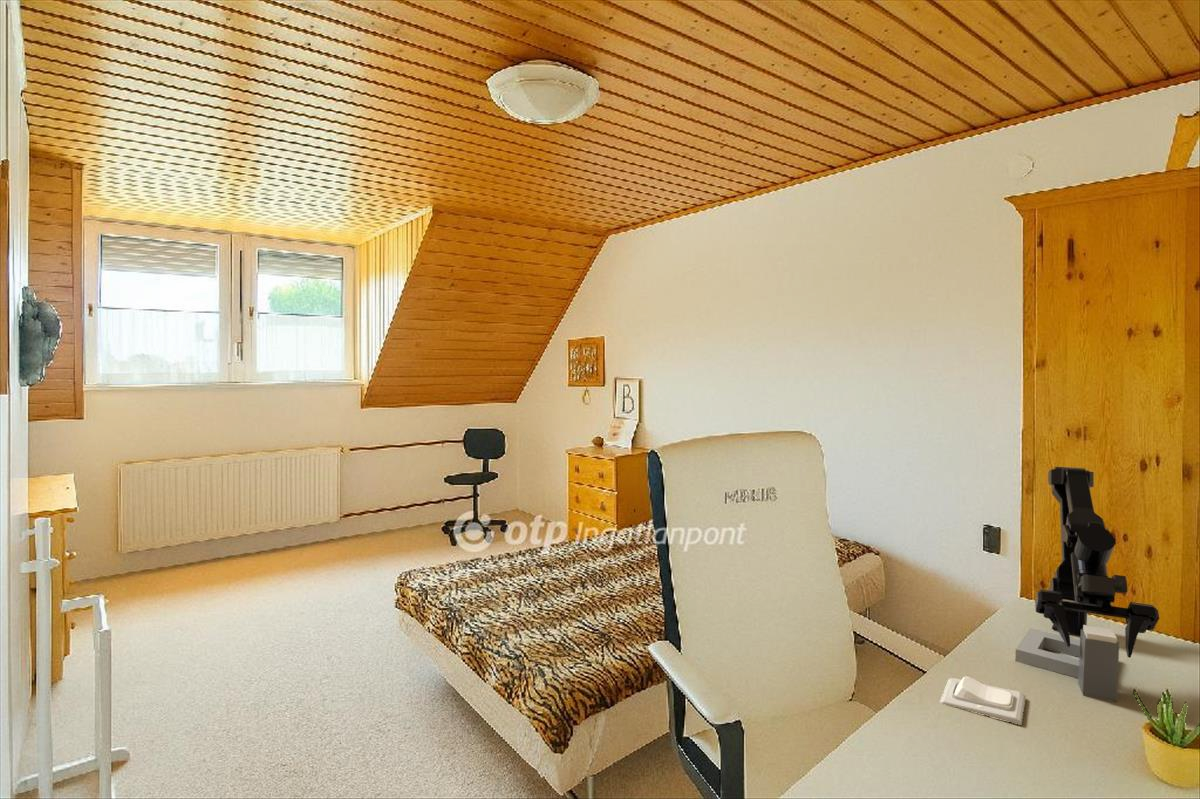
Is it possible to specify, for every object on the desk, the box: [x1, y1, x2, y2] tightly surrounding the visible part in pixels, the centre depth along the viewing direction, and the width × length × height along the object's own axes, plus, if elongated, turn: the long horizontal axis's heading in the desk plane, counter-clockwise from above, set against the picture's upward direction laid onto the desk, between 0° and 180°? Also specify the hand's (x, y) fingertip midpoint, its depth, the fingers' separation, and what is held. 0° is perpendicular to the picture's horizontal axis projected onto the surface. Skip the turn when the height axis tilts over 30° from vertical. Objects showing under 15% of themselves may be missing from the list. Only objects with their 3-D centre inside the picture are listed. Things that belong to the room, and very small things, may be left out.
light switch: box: [939, 675, 1026, 726], centre depth 118 cm, size 11×4×13 cm
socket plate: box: [1014, 627, 1080, 679], centre depth 133 cm, size 14×14×3 cm
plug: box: [1077, 624, 1120, 703], centre depth 120 cm, size 5×5×12 cm
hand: (1098, 651), depth 120 cm, fingers open, 9 cm apart
